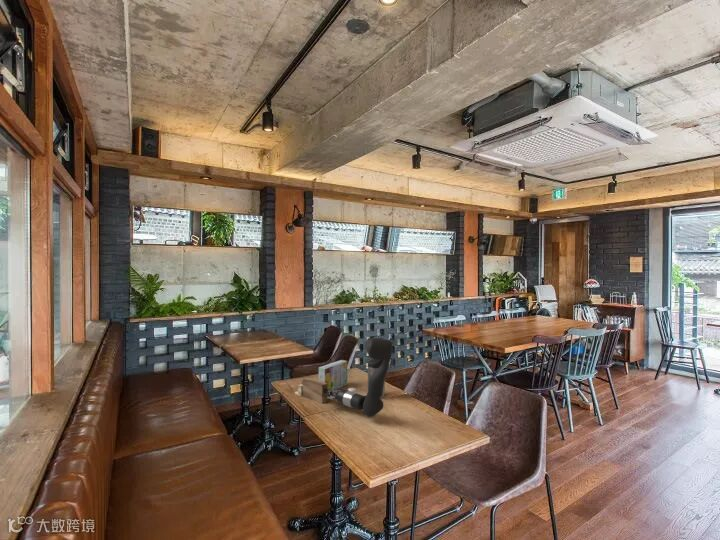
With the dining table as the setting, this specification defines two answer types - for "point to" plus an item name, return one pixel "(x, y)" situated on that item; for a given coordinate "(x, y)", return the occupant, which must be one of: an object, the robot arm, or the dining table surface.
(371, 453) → the dining table surface
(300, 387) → the bench stop
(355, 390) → the white rounded piece
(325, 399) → the brown rectangular block
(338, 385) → the snack box
